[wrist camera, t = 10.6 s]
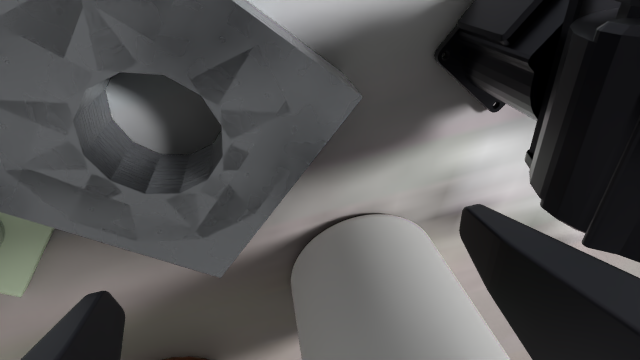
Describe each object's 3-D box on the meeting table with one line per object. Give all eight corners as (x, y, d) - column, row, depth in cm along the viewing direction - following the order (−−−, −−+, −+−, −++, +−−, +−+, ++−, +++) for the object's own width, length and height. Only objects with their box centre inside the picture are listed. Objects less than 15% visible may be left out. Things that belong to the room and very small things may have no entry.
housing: (342, 72, 19) (363, 96, 16) (223, 234, 24) (220, 277, 21) (65, -137, 12) (2, -169, 9) (-20, 145, 17) (-80, 188, 14)
